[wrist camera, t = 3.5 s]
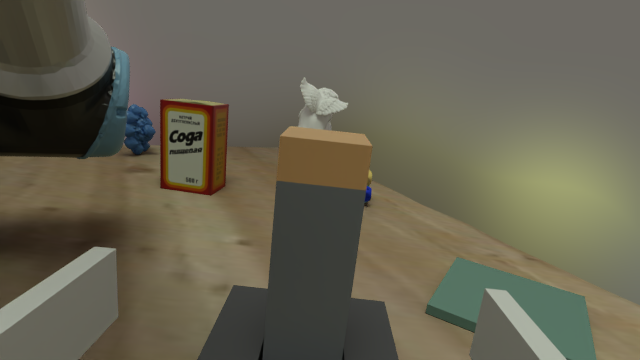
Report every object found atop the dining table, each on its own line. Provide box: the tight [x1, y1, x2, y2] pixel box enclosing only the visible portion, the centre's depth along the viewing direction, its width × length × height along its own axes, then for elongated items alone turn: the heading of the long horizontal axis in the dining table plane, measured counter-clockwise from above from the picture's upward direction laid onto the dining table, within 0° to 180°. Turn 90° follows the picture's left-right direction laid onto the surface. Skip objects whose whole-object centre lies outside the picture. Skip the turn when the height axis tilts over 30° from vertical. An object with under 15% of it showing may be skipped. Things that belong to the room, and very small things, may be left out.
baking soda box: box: [160, 99, 229, 195], centre depth 67 cm, size 10×6×16 cm
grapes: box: [124, 104, 155, 155], centre depth 88 cm, size 12×7×12 cm, turn 178°
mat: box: [426, 257, 596, 360], centre depth 39 cm, size 14×14×1 cm
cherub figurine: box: [298, 78, 348, 131], centre depth 80 cm, size 12×12×22 cm
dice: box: [364, 170, 372, 203], centre depth 71 cm, size 8×3×6 cm, turn 178°
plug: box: [262, 126, 372, 360], centre depth 25 cm, size 5×5×18 cm
